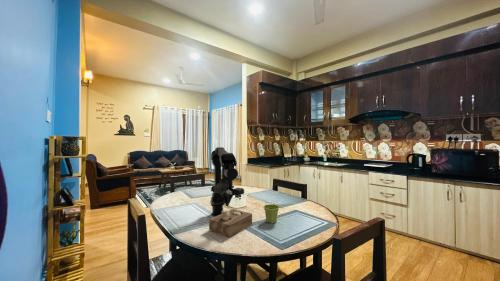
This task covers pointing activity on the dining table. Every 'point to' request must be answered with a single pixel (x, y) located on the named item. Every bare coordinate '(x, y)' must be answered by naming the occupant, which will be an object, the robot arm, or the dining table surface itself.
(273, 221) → the plant pot
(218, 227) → the jig block
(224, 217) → the peg near
